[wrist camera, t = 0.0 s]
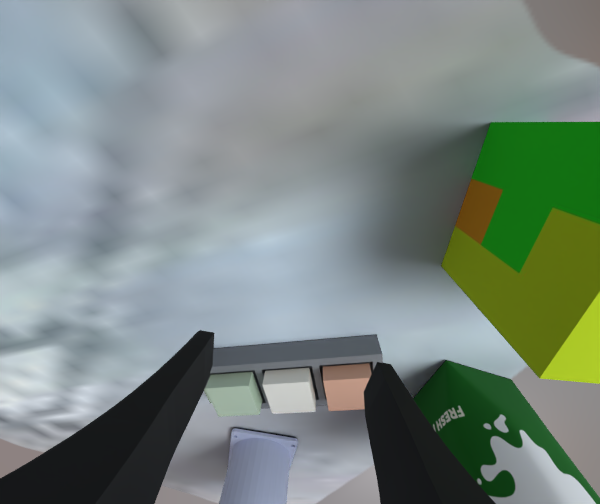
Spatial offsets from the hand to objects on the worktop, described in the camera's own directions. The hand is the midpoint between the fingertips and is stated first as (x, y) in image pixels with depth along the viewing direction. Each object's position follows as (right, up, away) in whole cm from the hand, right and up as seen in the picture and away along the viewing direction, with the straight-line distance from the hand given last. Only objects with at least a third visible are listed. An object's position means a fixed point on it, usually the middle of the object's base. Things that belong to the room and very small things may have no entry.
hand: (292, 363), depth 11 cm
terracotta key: (+5, -7, +12) cm, 14 cm away
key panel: (0, -6, +14) cm, 16 cm away
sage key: (-6, -8, +13) cm, 16 cm away
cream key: (-1, -7, +13) cm, 15 cm away
